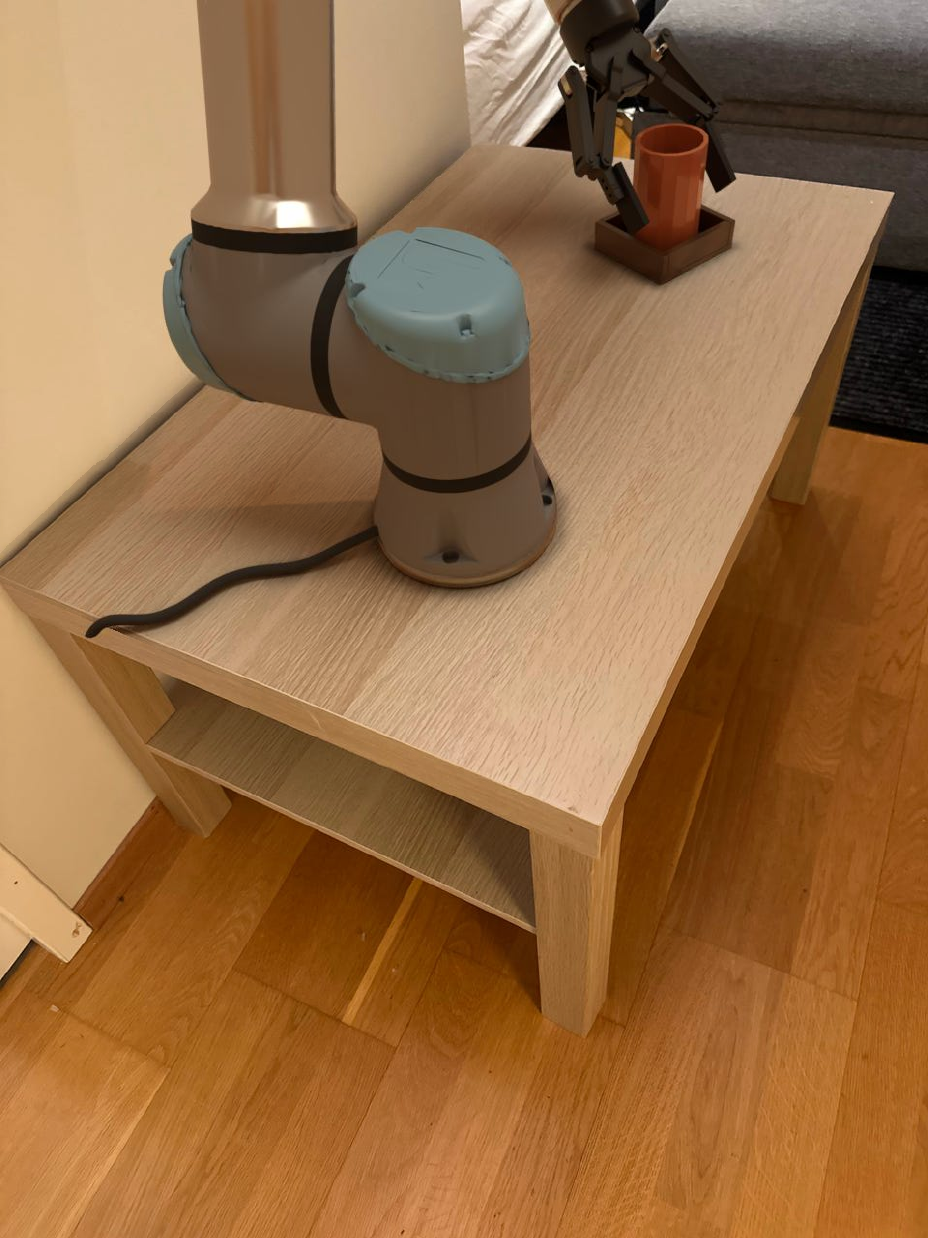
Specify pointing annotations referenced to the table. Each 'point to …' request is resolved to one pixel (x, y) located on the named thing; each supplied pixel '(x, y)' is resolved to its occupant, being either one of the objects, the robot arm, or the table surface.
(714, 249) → the tray
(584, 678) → the table surface
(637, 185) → the pencil cup
